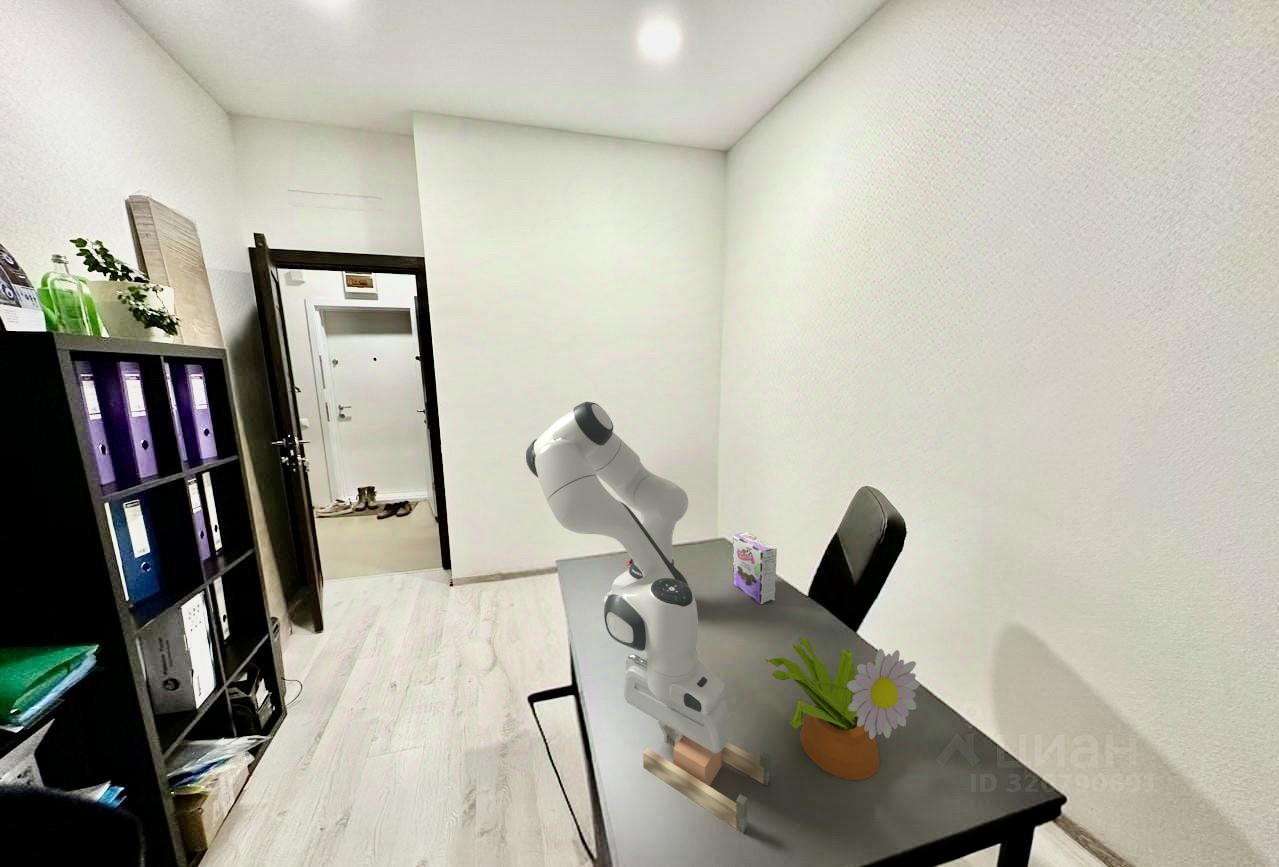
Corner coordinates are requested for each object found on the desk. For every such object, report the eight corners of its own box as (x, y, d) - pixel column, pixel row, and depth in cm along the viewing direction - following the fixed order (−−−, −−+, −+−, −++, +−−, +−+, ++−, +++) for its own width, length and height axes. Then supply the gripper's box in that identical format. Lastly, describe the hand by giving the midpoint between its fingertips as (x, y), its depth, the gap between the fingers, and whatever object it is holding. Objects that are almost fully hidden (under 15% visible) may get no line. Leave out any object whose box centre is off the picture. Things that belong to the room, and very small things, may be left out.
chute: (643, 767, 77) (642, 742, 76) (675, 727, 85) (675, 704, 84) (743, 833, 65) (743, 804, 65) (769, 780, 74) (770, 754, 73)
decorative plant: (821, 827, 66) (828, 677, 62) (741, 708, 89) (742, 594, 85) (957, 776, 73) (971, 639, 69) (851, 679, 96) (856, 572, 92)
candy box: (731, 583, 139) (732, 534, 136) (747, 579, 141) (747, 531, 139) (760, 605, 126) (760, 551, 124) (776, 600, 129) (777, 547, 126)
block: (673, 774, 75) (673, 748, 74) (691, 749, 80) (691, 725, 79) (704, 793, 72) (704, 767, 71) (721, 766, 76) (721, 741, 76)
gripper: (615, 660, 80) (617, 727, 82) (716, 712, 67) (715, 789, 70) (636, 642, 85) (638, 706, 87) (734, 688, 72) (733, 761, 74)
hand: (673, 743), depth 78 cm, fingers closed
